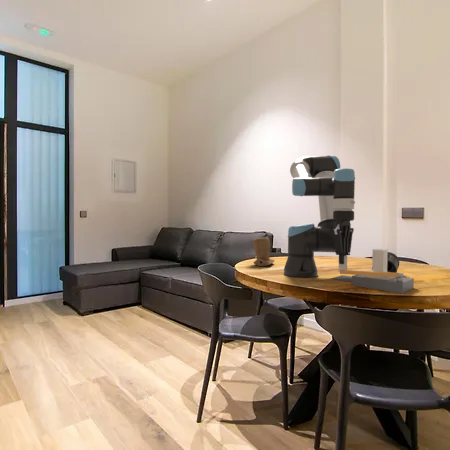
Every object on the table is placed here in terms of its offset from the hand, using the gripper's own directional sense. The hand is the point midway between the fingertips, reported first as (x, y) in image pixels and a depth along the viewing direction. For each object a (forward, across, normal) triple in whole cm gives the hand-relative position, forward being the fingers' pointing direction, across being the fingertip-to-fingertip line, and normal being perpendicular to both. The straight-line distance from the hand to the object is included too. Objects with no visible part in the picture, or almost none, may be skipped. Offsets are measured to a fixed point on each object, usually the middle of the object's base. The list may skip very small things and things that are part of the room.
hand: (342, 272), depth 121 cm
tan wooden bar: (0, +3, -9) cm, 10 cm away
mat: (+6, +14, +4) cm, 16 cm away
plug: (+5, +10, -10) cm, 15 cm away
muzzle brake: (+6, +31, -5) cm, 32 cm away
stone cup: (+6, +20, +55) cm, 59 cm away
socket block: (+6, +10, -11) cm, 16 cm away
